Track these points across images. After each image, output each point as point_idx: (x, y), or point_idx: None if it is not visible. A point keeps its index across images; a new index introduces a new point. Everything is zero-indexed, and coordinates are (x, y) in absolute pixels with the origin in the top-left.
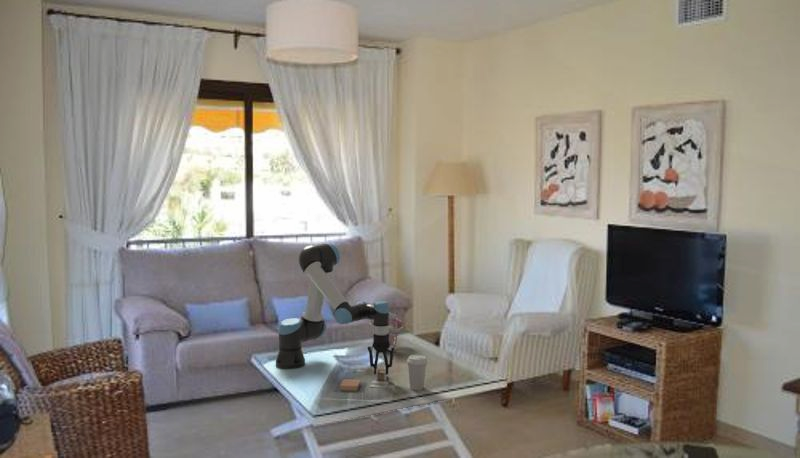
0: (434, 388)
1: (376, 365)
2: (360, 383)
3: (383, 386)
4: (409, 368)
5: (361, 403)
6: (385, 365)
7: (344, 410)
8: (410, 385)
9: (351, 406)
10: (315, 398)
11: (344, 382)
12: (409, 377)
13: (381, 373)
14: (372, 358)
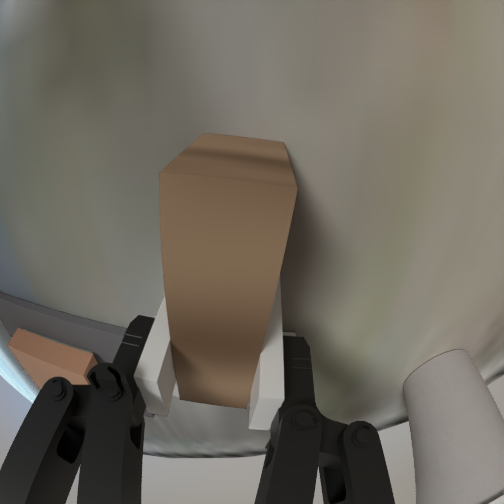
0: (493, 361)
1: (141, 443)
2: (88, 339)
3: (249, 402)
4: (416, 497)
5: (176, 447)
6: (266, 466)
7: (146, 453)
8: (406, 404)
9: (154, 449)
10: (34, 393)
11: (39, 381)
12: (413, 442)
13: (223, 402)
14: (52, 487)
